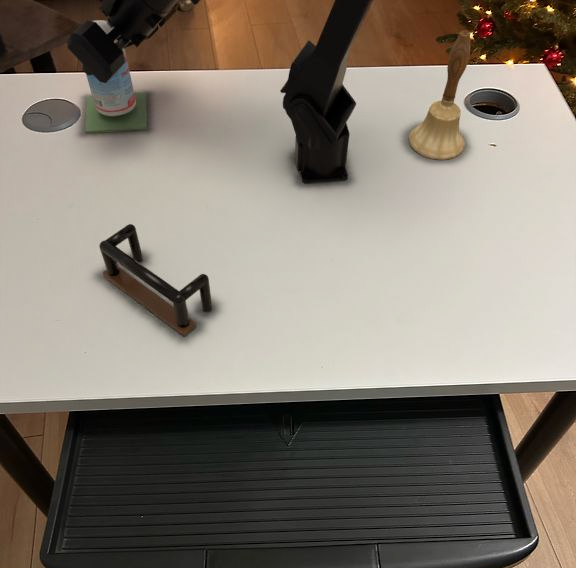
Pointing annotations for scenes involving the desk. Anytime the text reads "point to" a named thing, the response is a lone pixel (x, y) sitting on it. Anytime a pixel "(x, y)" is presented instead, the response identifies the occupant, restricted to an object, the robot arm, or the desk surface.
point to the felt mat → (117, 117)
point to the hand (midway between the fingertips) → (97, 60)
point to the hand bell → (444, 111)
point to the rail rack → (151, 282)
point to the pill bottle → (113, 88)
